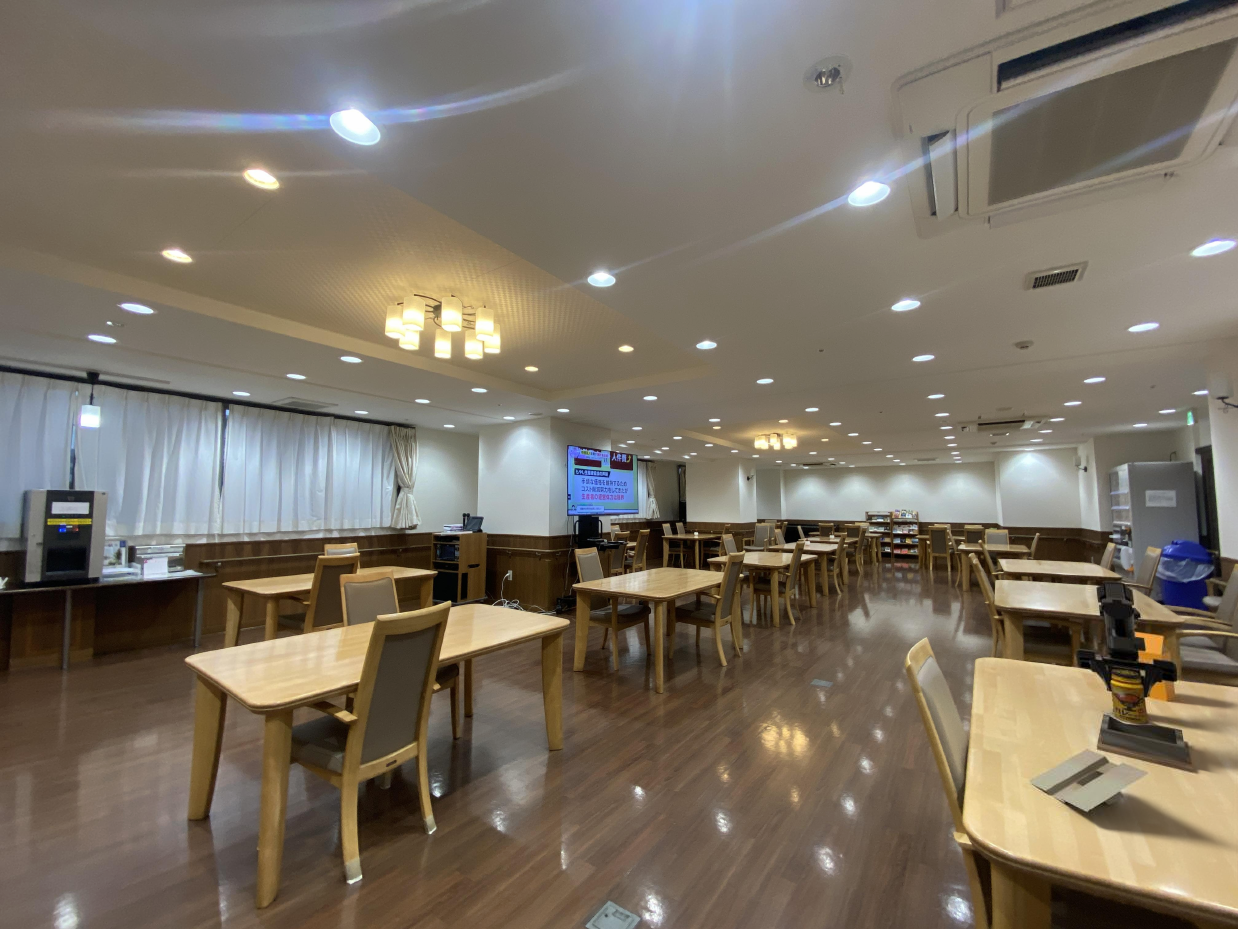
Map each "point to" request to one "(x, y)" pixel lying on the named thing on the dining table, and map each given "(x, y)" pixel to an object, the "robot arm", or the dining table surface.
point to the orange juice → (1154, 650)
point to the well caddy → (1145, 743)
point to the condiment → (1128, 698)
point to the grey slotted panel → (1088, 780)
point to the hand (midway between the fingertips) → (1127, 693)
